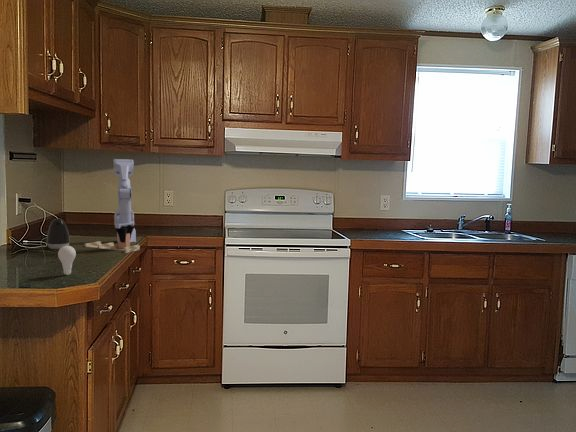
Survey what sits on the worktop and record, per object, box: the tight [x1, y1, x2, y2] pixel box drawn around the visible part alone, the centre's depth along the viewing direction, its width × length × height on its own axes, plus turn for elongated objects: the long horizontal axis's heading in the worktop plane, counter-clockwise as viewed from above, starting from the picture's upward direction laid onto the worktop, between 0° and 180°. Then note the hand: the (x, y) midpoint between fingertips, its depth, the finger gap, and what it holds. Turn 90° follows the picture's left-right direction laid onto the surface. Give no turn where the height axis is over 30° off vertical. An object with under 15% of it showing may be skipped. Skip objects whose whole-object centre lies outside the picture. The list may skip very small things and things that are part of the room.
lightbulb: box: [57, 245, 77, 276], centre depth 187 cm, size 6×6×11 cm
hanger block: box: [117, 233, 131, 249], centre depth 243 cm, size 4×4×7 cm
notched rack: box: [84, 240, 141, 254], centre depth 246 cm, size 10×25×2 cm, turn 68°
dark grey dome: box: [46, 217, 71, 250], centre depth 241 cm, size 10×10×15 cm
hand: (125, 241), depth 243 cm, fingers closed on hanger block, 4 cm apart
